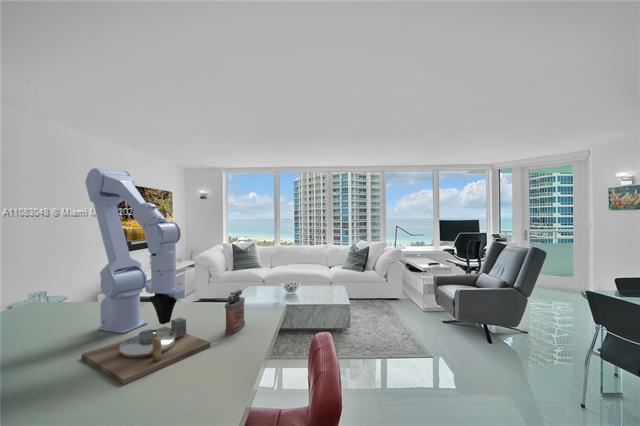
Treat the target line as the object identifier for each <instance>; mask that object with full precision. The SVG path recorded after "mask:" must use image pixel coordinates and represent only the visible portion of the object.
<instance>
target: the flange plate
mask: <svg viewBox="0 0 640 426" xmlns="http://www.w3.org/2000/svg"><path fill="white" fill-rule="evenodd" d="M170 322H171V323H170V328H171V332H157V330H155V329H152V328H151V329H145V330H142V331H140V332H139V333H138V336H137V335H134V336H135V337H134V336H131V337H132V338H131V337H129V338H130V339H128V338H126V339H127V340H126V341H124V342H123V343H122V344H121V345H120V355H121V356H123V357H127V358H142V357H148V356H152V355H153V338H156V337H161V353H162V352H164V351H166V350H168V349H170V348H171V347H172V346H173V345H174V344H175V338H178V337H180V336H183V335H185V334H187V319H186V318H182V317H177V318H173V319H171V320H170Z"/></svg>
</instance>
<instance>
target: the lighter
mask: <svg viewBox="0 0 640 426" xmlns="http://www.w3.org/2000/svg"><path fill="white" fill-rule="evenodd" d="M242 294H243V289H242V290H241V289H237V290H235V291H231V292H230V294H229V295H227V296H228V301H227V302H226V303H225V305H224V308H225V331H224V334H225V335H227V336H228V335H229V336H231V334H232V335H235V334H236V333H238V332H240V331H241V330H242V329H243V328H244V327H245V326H246V321H245V300H246V299H245V297H243V296H242ZM244 325H245V326H244ZM243 326H244V327H243ZM242 327H243V328H242ZM239 330H240V331H239Z"/></svg>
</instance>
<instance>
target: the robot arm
mask: <svg viewBox="0 0 640 426" xmlns="http://www.w3.org/2000/svg"><path fill="white" fill-rule="evenodd" d="M84 183H85V186H86V190H87V195H88V197H89V201H90V202H91V203H93V208H94V211H95V215H96V219H97V222H98V223H97V224H98V227H99V230H100V233H101V237H102V241H103V245H104V246H103V247H104V249H105V253H106V257H107V258H106V259H107V260H108V261H107V262H108V263H107V264H106V265H105V266H104V267H103V268H102V269H101V271H100V272H99V274H100V276H99V277H100V289H101V293H102V294H103V295H104V296H105V297H103V298H102V300H101V301H100V302H101V303H100V326H99V327H97V330H99V331H105V332H112V333H118V334H125V333H127V332H130V331H132V330H135V329H137V328H140V327H142V326H145V325H146V324H148V323H149V322H148V320H147V321H146V320H141V293H143V289H145V292H146V293H148V294H151V295H152V294H154V295H153V296H149V298H148V299H149V301H150V302H151V304H152V306H153V308H154V311H155V313H156V316H157V320H158V323H159V324H160V325H164V324H168V323H170V322H171V320H172V315H173V311H174V308H175V305H176V303H177V302H178V300H180V299H184V298H185V289H183V288H182V287H179V286H178V285H177V253H176V252H177V251H176V250H177V249H176V248H177V246H176V244H177V243H179V241H180V239H181V236H182V235H181V233H182V232H181V229H180V227H179V225H178V223H177V222H175V221H170V220H169V219H168V220H167V219H166V217H165V216H164V215H163V214H162V212H160V211H159V209H158V208H157V205H156V204H155V203H152V202H146V201H145V199H144V197H142V195H141V193H140V192H139V190H138V189H137V187H136V186H135V178H134V177H133V176H132V174H131V173H130V172H129V171H124V170H123V171H122V170H121V171H118V170H112V169H111V170H109V169H101V168H100V169H99V168H96V167H94V168H91V169H90V170H89V171H88V172H87V176H86V178H85V182H84ZM122 202H125V203H126V204H127V205H128V206H129V207H130V208H131V209H132V210H133V211H132V217H133V218H134V219H135V221H136V222H137V223H138V224H139V226H140V227H141V229H142V230H143V231H144V232H145V234H144V240H145V242H146V244H147V250H148V252H149V253H150V276H151V277H150V279H151V280H150V283H147V282H148V276H147V274H146V272H145V270H144V269H143V267H142V263H141V262H140V261H138V260H137V259H135V258H133V257H131V255H130V251H129V247H128V243H127V239H126V235H125V232H124V228H123V224H122V221H121V218H120V214H119V209H118V205H119V204H121V203H122Z"/></svg>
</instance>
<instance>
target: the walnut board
mask: <svg viewBox="0 0 640 426" xmlns="http://www.w3.org/2000/svg"><path fill="white" fill-rule="evenodd" d="M154 330H157V332H171V327H169V326H165V325H164V326H161V327H158V328H156V329H154ZM138 335H139V334H138ZM138 335H134V336H130V337H129V338H126V339H122V340H118V341H116V342H113V343H110V344H107V345H104V346H101V347H98V348H95V349H92V350H89V351H87V352H83V353H81V359H82V360H84V361H85V362H87V363H88V364H90V365H91V366H93V367H94V368H97V369H98V370H100V371H101V372H103V373H105V374H106V375H108V376H109V377H111V378H112V379H114V380H116V381H118V382H119V383H121V384H123V385H126V384H129V383H131V382H134V381H135V380H138V379H139V378H142V377H145V376H146V375H149V374H150V373H154V372H155V371H157V370H160V369H162V368H165V367H167V366H170V365H171V364H174V363H176V362H178V361H181V360H183V359H185V358H187V357H190V356H192V355H194V354H196V353H199V352H201V351H203V350H205V349H208V348H210V347H211V341H208V340H205V339H202V338H200V337H197V336H194V335H190V334H188V333H186V334H185V335H183V336H180V337H178V338H175V344H174V345H173V346H172V347H171V348H170V349H168V350H166V351H164V352H162V353H161V337H156V338H153V355H152V356H148V357H142V358H127V357H123V356H121V355H120V345H121V344H122V343H123V342H124V341H126V340H127V339H130V338H132V337H135V336H138Z"/></svg>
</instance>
